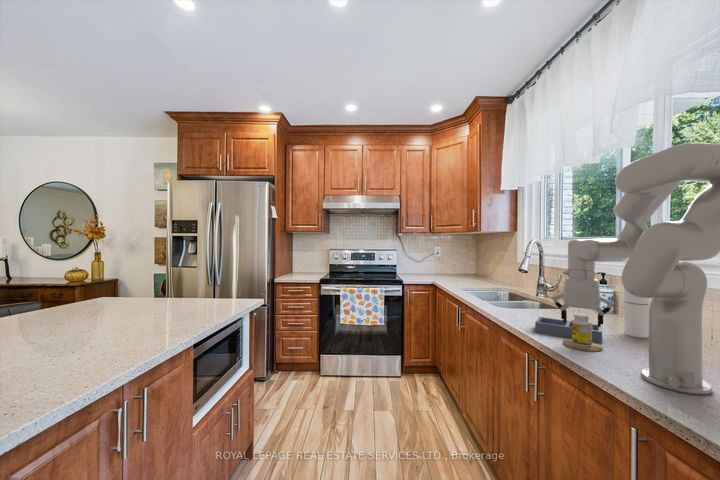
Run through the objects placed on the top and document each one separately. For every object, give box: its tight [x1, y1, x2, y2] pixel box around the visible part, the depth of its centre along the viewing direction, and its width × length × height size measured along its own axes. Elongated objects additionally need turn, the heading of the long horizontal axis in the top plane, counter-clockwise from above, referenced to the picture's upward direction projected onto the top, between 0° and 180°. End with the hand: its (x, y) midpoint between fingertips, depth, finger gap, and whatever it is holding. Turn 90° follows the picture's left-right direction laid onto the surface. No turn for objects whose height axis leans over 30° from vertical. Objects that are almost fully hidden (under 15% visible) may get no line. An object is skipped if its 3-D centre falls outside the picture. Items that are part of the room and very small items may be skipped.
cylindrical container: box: [623, 287, 650, 339], centre depth 117 cm, size 7×7×25 cm
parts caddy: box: [534, 316, 603, 344], centre depth 118 cm, size 11×21×4 cm, turn 51°
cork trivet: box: [562, 338, 603, 353], centre depth 104 cm, size 11×11×1 cm
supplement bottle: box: [571, 313, 593, 347], centre depth 104 cm, size 6×6×10 cm
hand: (581, 323), depth 104 cm, fingers open, 9 cm apart
